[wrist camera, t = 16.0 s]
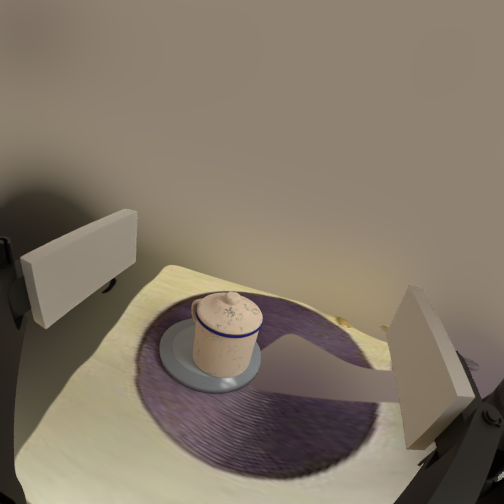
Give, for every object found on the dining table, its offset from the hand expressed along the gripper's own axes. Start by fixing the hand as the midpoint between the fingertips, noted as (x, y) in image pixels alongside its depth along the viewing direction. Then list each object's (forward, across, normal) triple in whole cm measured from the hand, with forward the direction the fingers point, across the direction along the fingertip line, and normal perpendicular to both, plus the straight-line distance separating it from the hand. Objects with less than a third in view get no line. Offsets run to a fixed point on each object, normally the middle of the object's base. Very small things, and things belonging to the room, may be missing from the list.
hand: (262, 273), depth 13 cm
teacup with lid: (+20, -6, -26) cm, 34 cm away
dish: (+21, -7, -27) cm, 35 cm away
